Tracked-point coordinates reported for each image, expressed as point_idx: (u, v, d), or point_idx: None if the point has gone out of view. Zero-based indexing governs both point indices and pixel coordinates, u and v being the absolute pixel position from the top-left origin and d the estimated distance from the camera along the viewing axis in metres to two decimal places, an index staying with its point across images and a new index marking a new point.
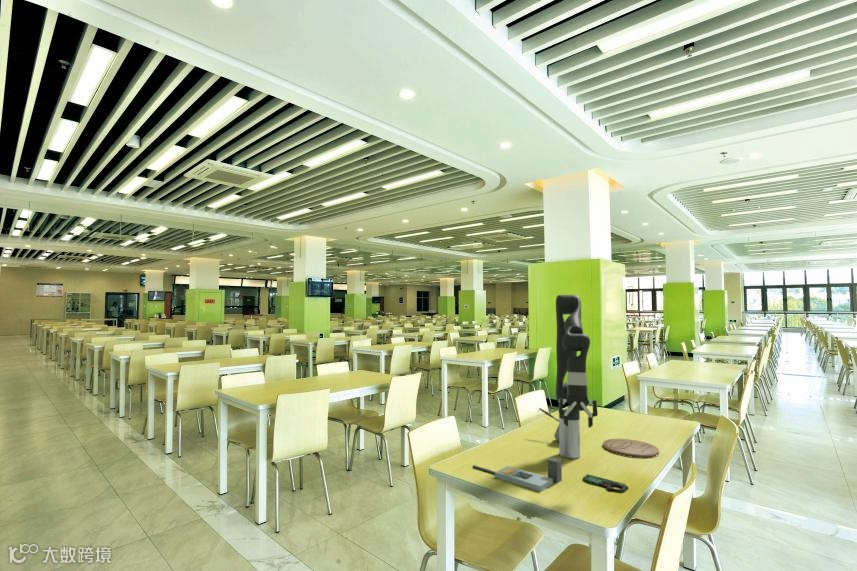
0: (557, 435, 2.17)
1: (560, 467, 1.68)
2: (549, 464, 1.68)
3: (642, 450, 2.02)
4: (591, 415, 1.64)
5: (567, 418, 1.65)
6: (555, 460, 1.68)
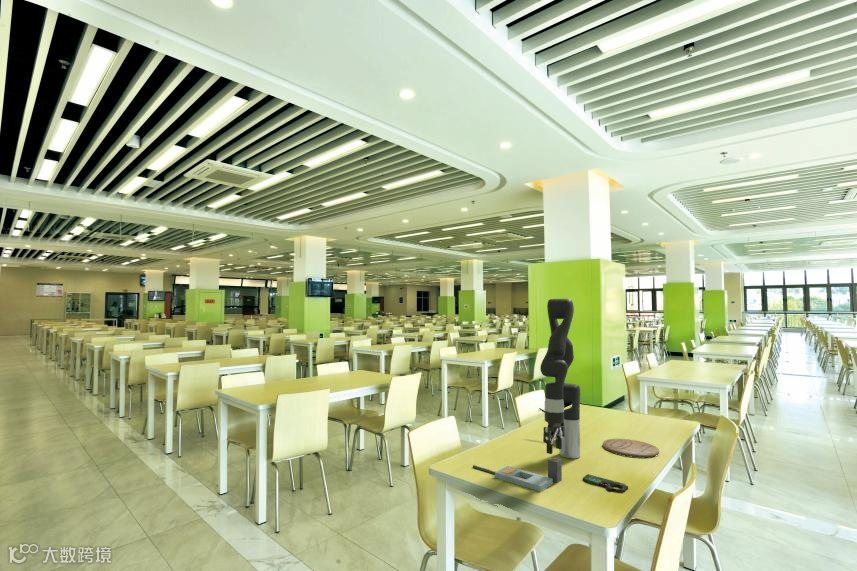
0: None
1: (560, 467, 1.68)
2: (549, 464, 1.68)
3: (642, 450, 2.02)
4: (562, 437, 1.72)
5: (552, 446, 1.65)
6: (555, 460, 1.68)
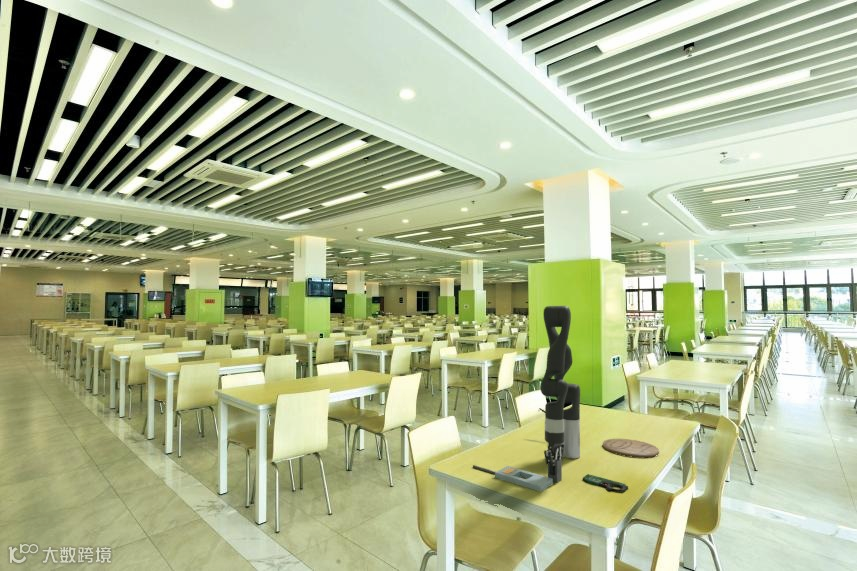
0: None
1: (560, 467, 1.68)
2: None
3: (642, 450, 2.02)
4: None
5: (554, 467, 1.66)
6: (555, 460, 1.68)
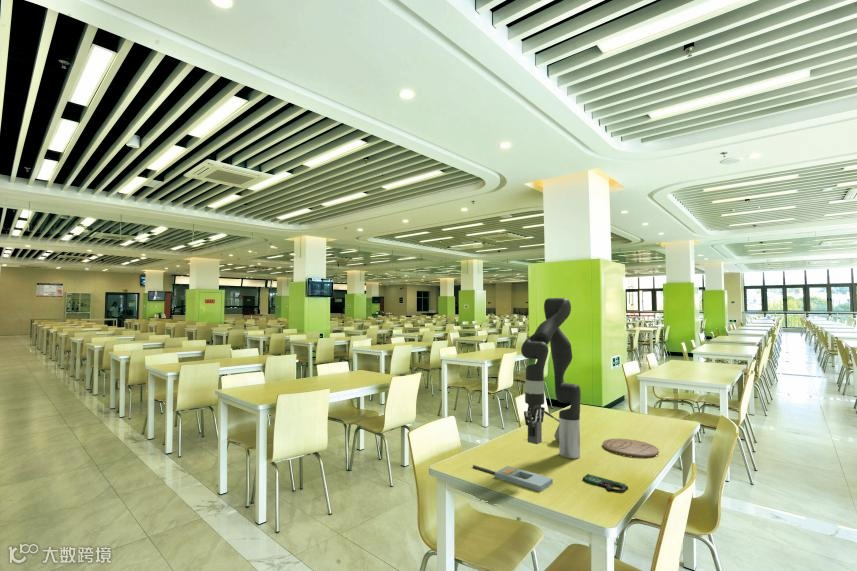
0: (557, 435, 2.17)
1: (540, 429, 1.68)
2: None
3: (642, 450, 2.03)
4: None
5: (534, 429, 1.66)
6: (535, 422, 1.68)
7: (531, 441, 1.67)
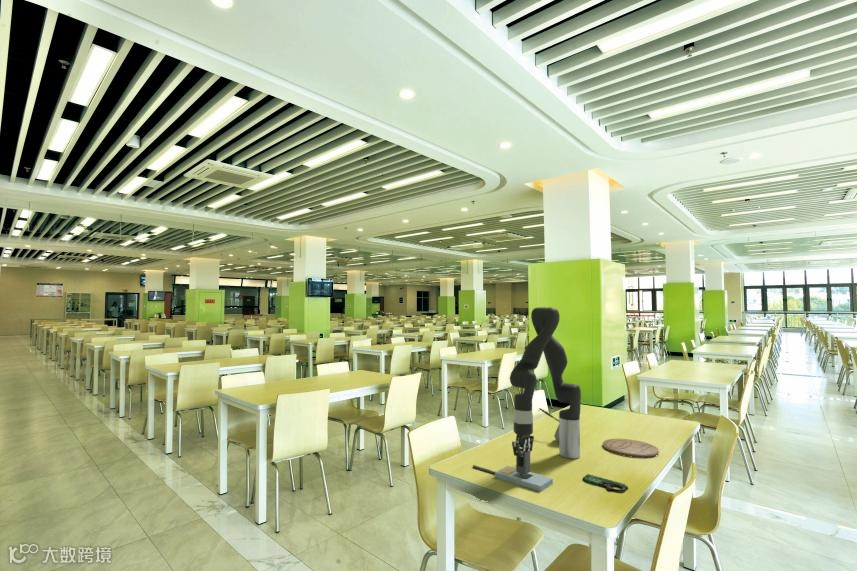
0: (557, 435, 2.17)
1: (529, 458, 1.68)
2: None
3: (642, 450, 2.03)
4: None
5: None
6: (524, 451, 1.68)
7: (519, 471, 1.67)
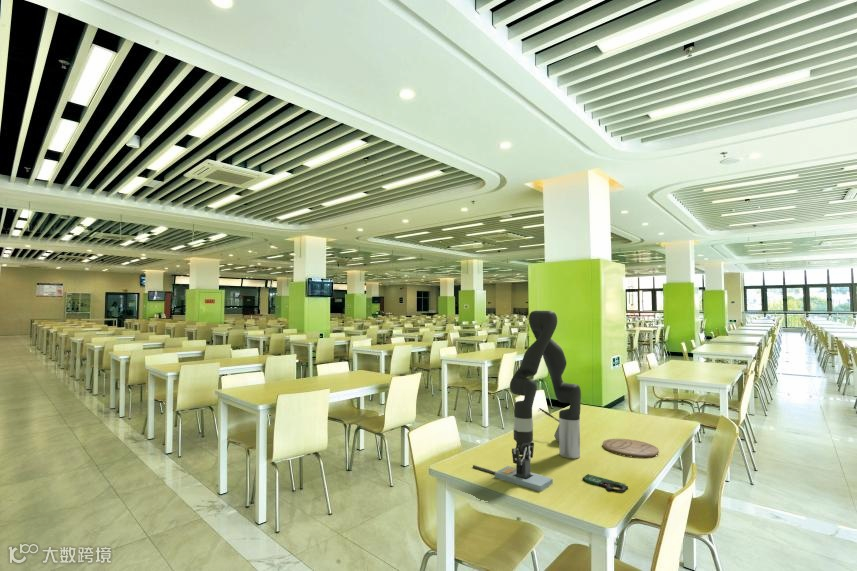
0: (557, 435, 2.17)
1: (529, 467, 1.67)
2: None
3: (642, 450, 2.03)
4: (530, 458, 1.70)
5: (522, 466, 1.65)
6: (524, 460, 1.67)
7: None
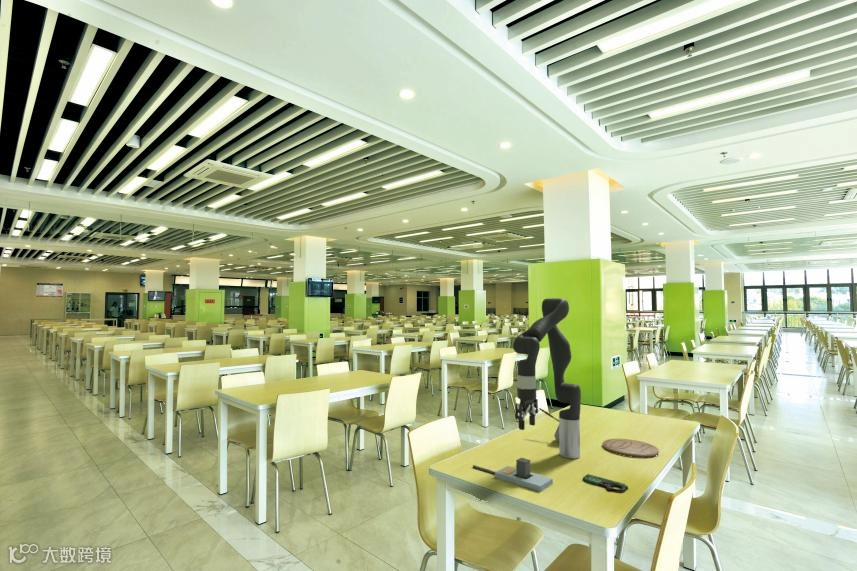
0: (557, 435, 2.17)
1: (529, 467, 1.67)
2: (518, 464, 1.67)
3: (641, 450, 2.03)
4: (535, 413, 1.73)
5: (524, 422, 1.66)
6: (524, 460, 1.67)
7: None
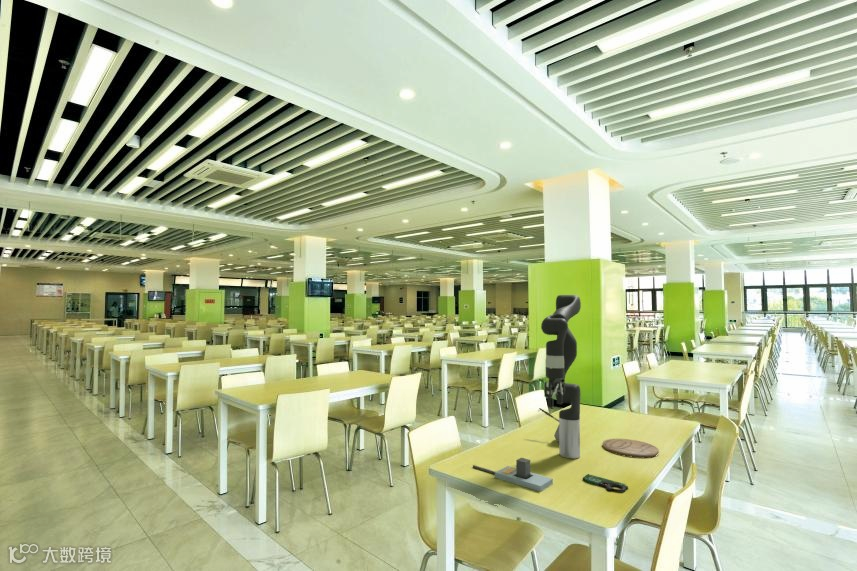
0: (557, 435, 2.17)
1: (529, 467, 1.67)
2: (518, 464, 1.67)
3: (641, 450, 2.03)
4: (563, 393, 1.78)
5: None
6: (524, 460, 1.67)
7: None
